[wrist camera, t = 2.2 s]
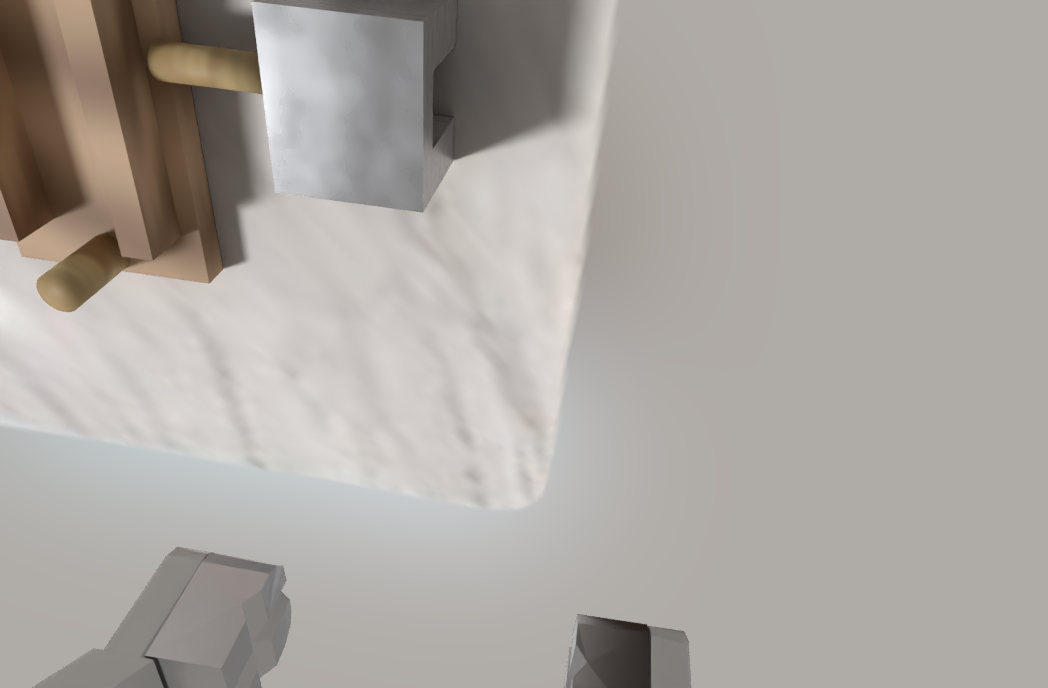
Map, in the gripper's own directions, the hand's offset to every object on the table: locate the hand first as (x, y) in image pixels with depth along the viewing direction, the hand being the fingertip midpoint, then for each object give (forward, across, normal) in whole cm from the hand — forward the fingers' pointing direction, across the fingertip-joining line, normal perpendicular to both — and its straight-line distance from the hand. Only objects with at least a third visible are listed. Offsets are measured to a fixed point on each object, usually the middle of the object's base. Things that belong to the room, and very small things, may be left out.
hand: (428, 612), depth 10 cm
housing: (+25, +8, 0) cm, 26 cm away
